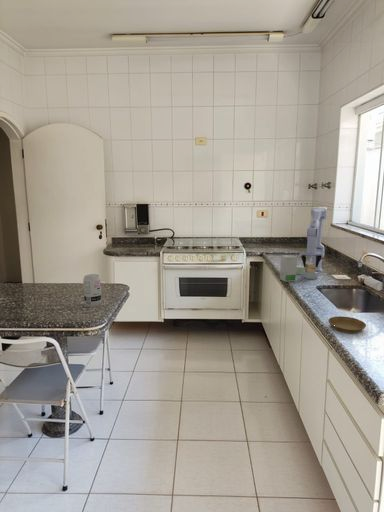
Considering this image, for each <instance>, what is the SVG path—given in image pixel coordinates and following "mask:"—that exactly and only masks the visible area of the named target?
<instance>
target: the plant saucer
mask: <svg viewBox="0 0 384 512" xmlns="http://www.w3.org/2000/svg"><path fill="white" fill-rule="evenodd" d="M327 321H328V323H329V325H330V326H331V327H332V328H333V329H335V330H336V331H338V332H342V333H345V332H346V333H347V334H357V333H360V332H362V331H363V330H364V329H365V328H366V327H367V324H366V323H365V322H364V321H363V320H361V319H358V318H355V317H350V316H341V315H340V316H332V317H329V319H328V320H327ZM334 325H335V326H334Z"/></svg>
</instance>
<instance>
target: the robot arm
mask: <svg viewBox="0 0 384 512" xmlns="http://www.w3.org/2000/svg"><path fill="white" fill-rule="evenodd" d="M327 215H328V208H327V207H323V206H322V207H321V206H320V207H317V206H316V207H315V206H312V207H311V209H310V216H311V218H312V220H311V221H310V224H309V227H308V228H307V229H306V239H307V245H306V251H305V252H299V256H300V258H301V260H302V264H303V265H302V266H304V267H306V263H307V257H310V258H309V263H308V264H315V265H316V269H315V272H317V271H321V272H323V271H324V270H323V269H322V261H323V260H322V258H324V257H325V246H324V245H323V244H322V233H323V222H324V221H325V220H327V217H328V216H327Z"/></svg>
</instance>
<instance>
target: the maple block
mask: <svg viewBox="0 0 384 512" xmlns="http://www.w3.org/2000/svg"><path fill="white" fill-rule="evenodd" d="M315 269H316V265H315V264H309V263H307V262H306V267H305V271H306V272H307V273H315V272H316V271H315Z"/></svg>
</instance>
